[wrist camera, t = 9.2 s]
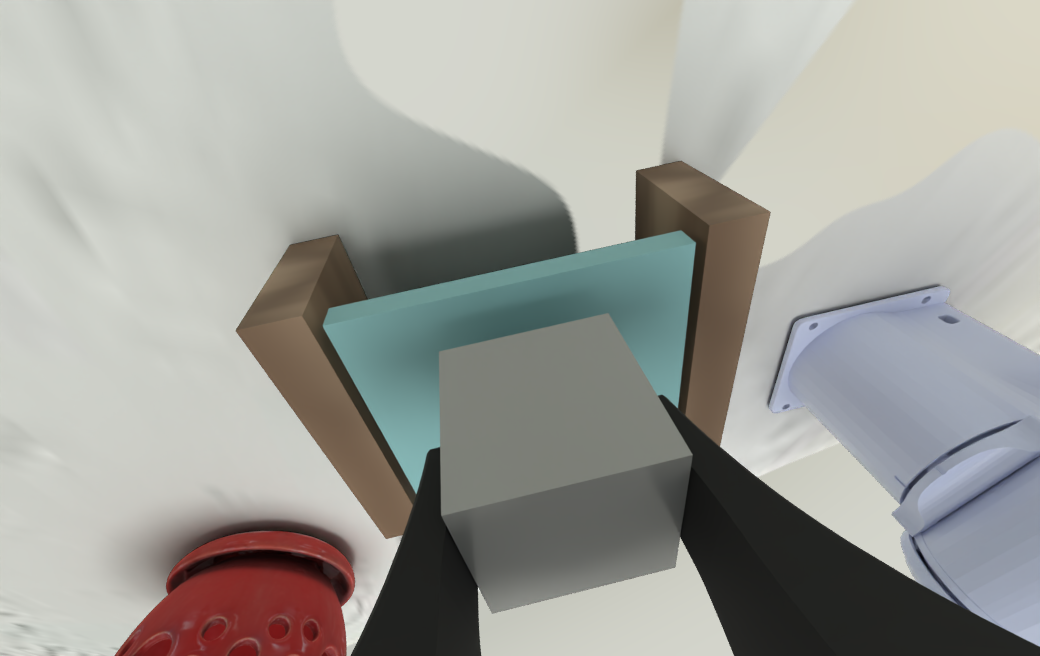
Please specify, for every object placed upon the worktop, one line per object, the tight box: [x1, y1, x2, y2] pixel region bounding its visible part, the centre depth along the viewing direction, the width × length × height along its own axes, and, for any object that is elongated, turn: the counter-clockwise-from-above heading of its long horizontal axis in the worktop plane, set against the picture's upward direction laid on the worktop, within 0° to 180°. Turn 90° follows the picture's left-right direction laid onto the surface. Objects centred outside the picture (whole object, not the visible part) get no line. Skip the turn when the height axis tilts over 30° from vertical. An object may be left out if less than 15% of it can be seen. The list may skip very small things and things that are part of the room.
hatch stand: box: [236, 161, 770, 539], centre depth 20 cm, size 17×15×6 cm
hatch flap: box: [323, 230, 696, 494], centre depth 18 cm, size 12×12×3 cm
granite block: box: [439, 313, 693, 613], centre depth 12 cm, size 5×5×5 cm
